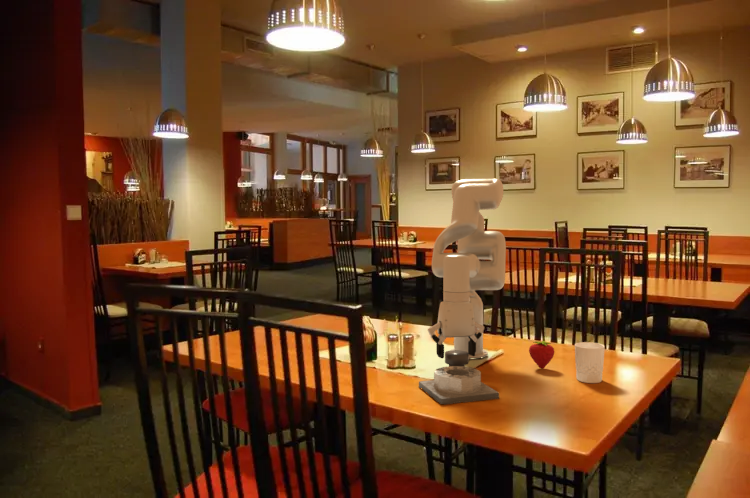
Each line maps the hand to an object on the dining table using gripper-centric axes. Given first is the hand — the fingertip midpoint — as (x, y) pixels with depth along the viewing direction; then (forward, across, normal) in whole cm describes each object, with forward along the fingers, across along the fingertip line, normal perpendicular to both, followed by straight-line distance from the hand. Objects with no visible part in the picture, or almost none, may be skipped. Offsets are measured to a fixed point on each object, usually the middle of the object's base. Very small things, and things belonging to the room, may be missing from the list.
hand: (456, 356), depth 172 cm
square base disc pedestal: (+7, +6, +13) cm, 16 cm away
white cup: (+6, -34, +14) cm, 38 cm away
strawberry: (+6, -28, -1) cm, 29 cm away
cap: (+6, 0, -1) cm, 6 cm away
